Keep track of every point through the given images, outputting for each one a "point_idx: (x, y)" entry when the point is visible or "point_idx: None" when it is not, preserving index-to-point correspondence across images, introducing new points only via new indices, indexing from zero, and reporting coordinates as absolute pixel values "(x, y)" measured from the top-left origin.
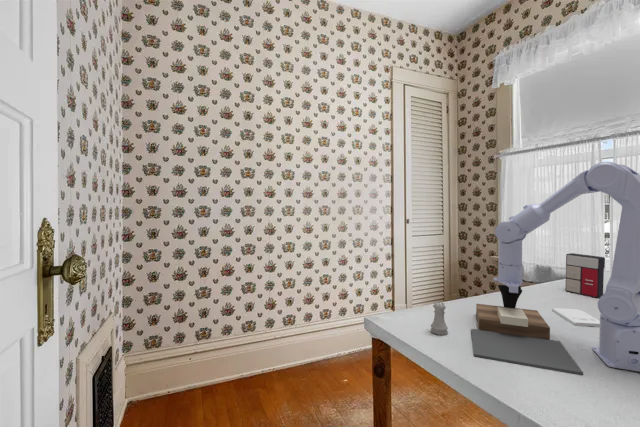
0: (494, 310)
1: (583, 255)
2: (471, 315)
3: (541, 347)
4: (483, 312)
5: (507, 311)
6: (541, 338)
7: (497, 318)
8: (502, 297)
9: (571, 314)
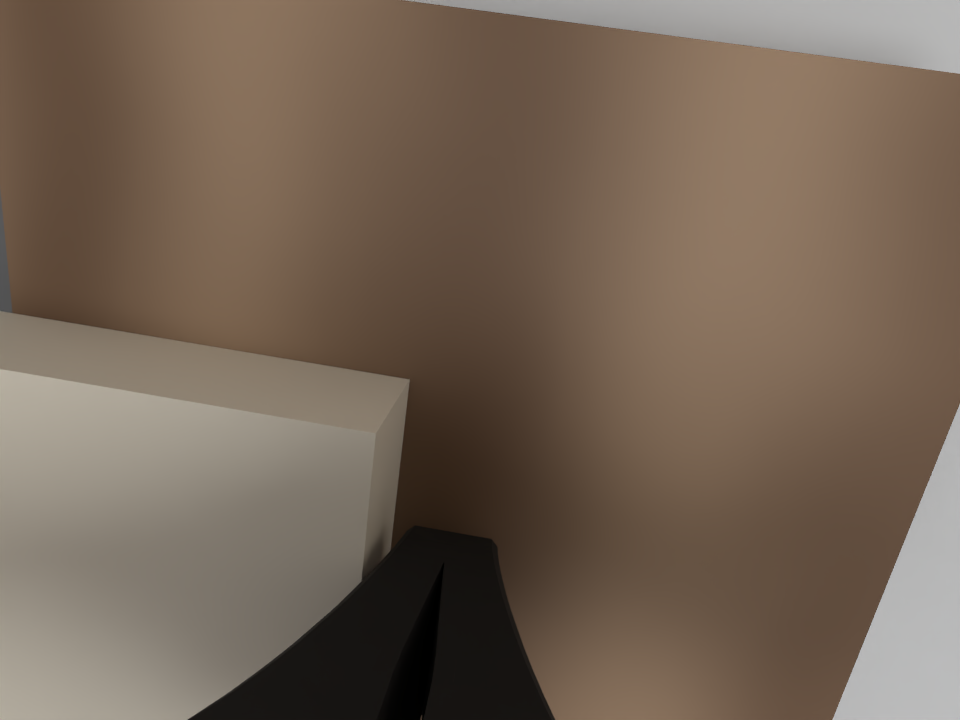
0: (594, 377)
1: None
2: (866, 16)
3: None
4: (399, 121)
5: (106, 528)
6: None
7: (136, 307)
8: (430, 710)
9: None
